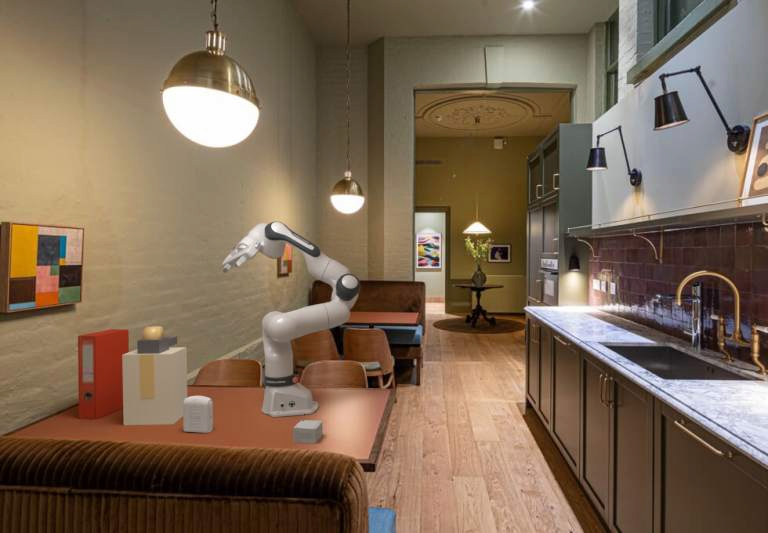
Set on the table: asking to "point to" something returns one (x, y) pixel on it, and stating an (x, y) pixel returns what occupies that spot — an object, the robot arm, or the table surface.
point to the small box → (307, 431)
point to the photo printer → (198, 414)
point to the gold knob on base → (154, 341)
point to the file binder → (101, 372)
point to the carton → (154, 387)
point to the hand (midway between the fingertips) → (230, 268)
